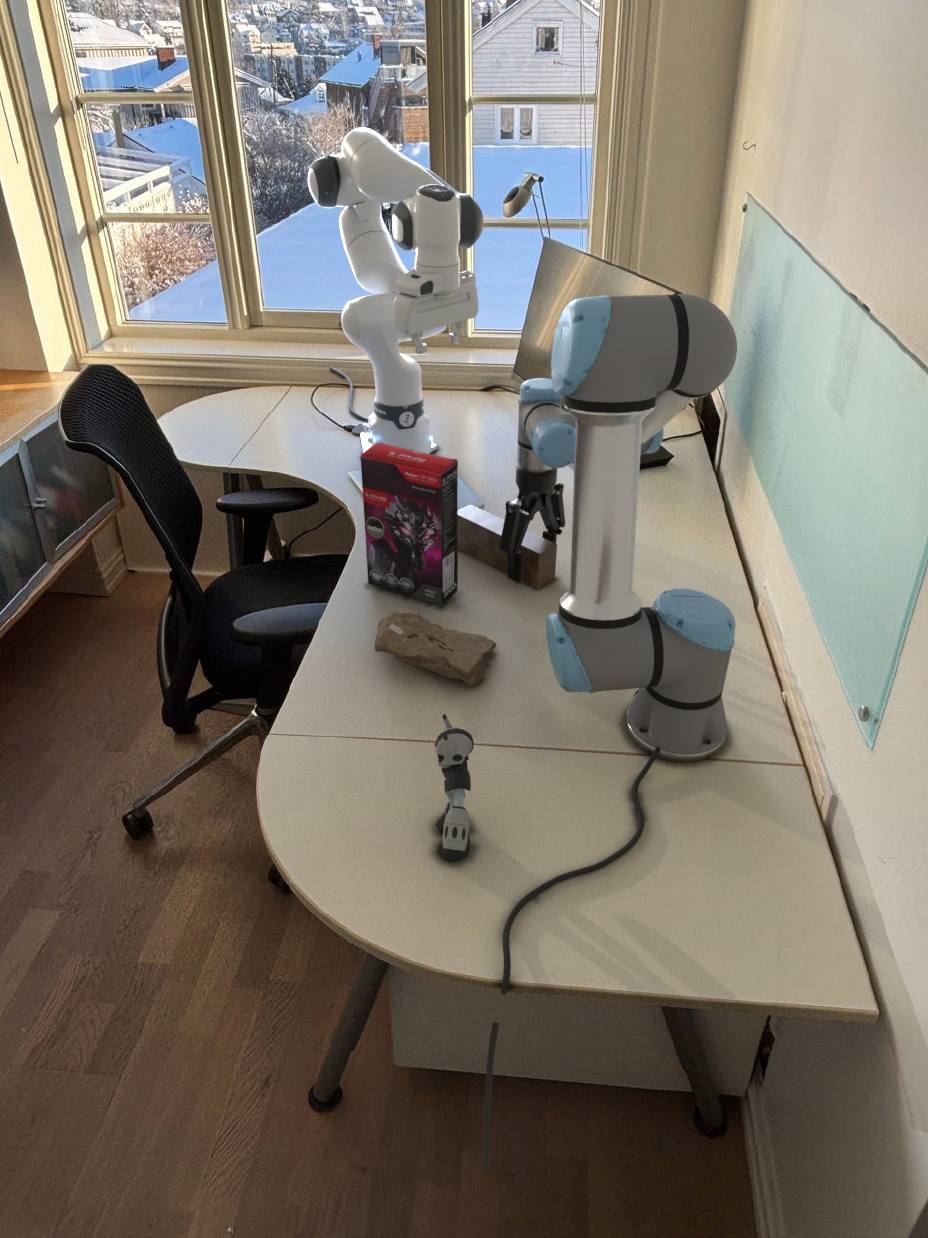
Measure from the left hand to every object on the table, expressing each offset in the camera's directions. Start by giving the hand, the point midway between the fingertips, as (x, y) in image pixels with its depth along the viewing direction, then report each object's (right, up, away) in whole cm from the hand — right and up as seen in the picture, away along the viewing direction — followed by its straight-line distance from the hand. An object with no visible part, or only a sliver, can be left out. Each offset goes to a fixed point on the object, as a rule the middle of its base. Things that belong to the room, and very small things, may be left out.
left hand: (438, 347), depth 188 cm
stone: (0, -62, -30) cm, 69 cm away
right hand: (+18, -46, -8) cm, 50 cm away
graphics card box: (-5, -50, -11) cm, 51 cm away
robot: (+4, -85, -64) cm, 106 cm away
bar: (+13, -44, -2) cm, 46 cm away
